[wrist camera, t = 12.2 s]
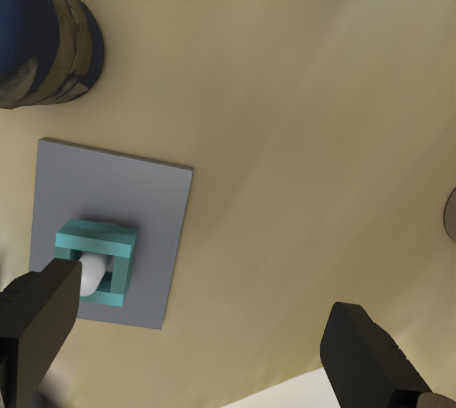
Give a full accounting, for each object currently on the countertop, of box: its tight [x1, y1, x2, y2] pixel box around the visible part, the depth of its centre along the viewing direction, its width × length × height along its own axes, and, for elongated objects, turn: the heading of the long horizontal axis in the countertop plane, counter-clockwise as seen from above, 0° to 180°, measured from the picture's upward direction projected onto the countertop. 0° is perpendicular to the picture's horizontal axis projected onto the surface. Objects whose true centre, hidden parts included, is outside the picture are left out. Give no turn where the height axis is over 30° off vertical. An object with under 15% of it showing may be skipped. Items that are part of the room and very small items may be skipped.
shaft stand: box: [29, 138, 193, 330], centre depth 32 cm, size 14×18×9 cm
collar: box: [54, 218, 138, 307], centre depth 31 cm, size 6×6×4 cm
